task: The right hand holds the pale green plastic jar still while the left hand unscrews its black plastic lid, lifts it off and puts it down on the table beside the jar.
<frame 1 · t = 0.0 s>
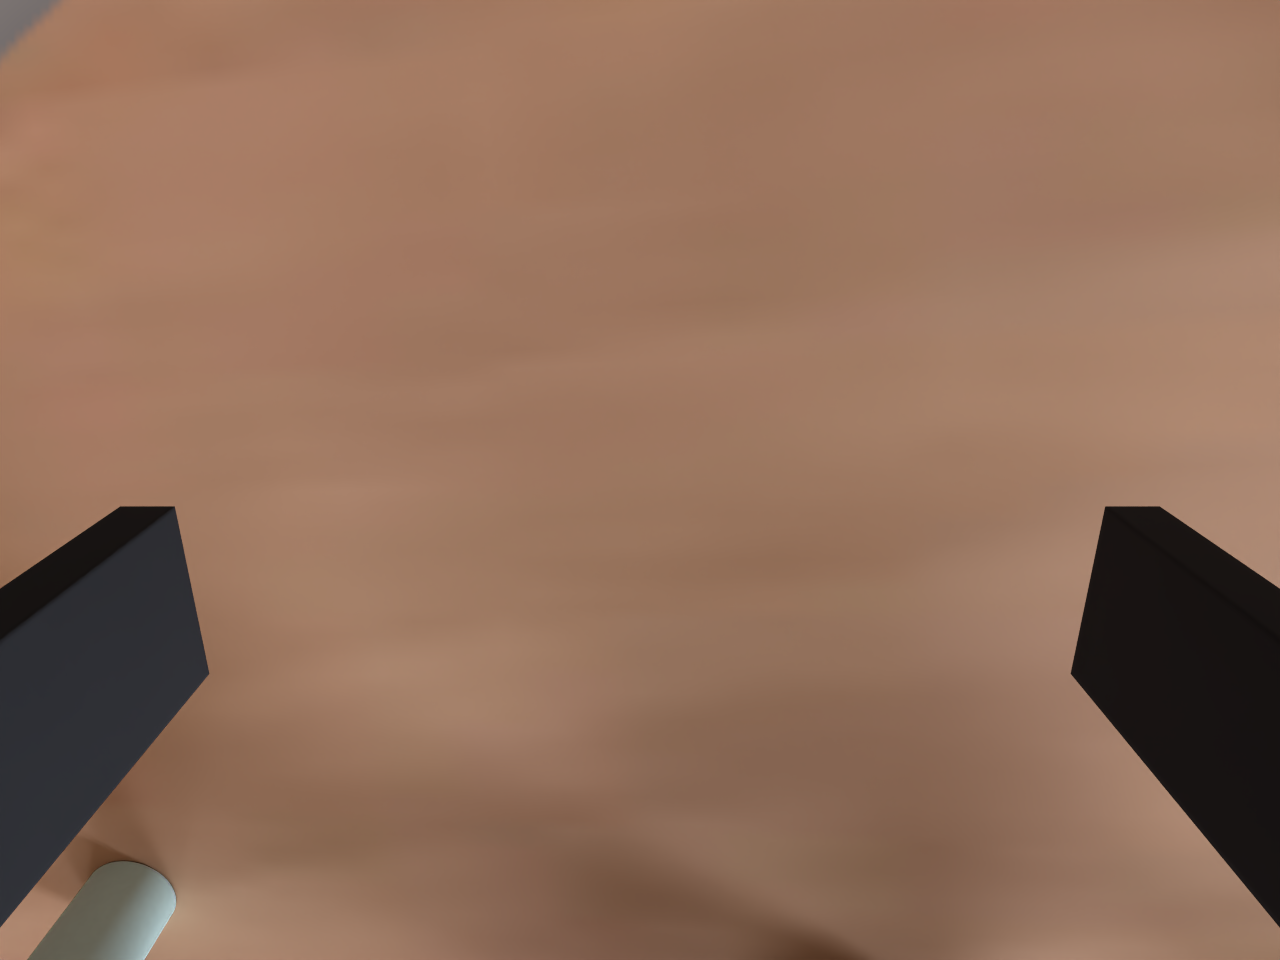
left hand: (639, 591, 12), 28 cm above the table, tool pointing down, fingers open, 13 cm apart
jar: (132, 894, 51), on the table
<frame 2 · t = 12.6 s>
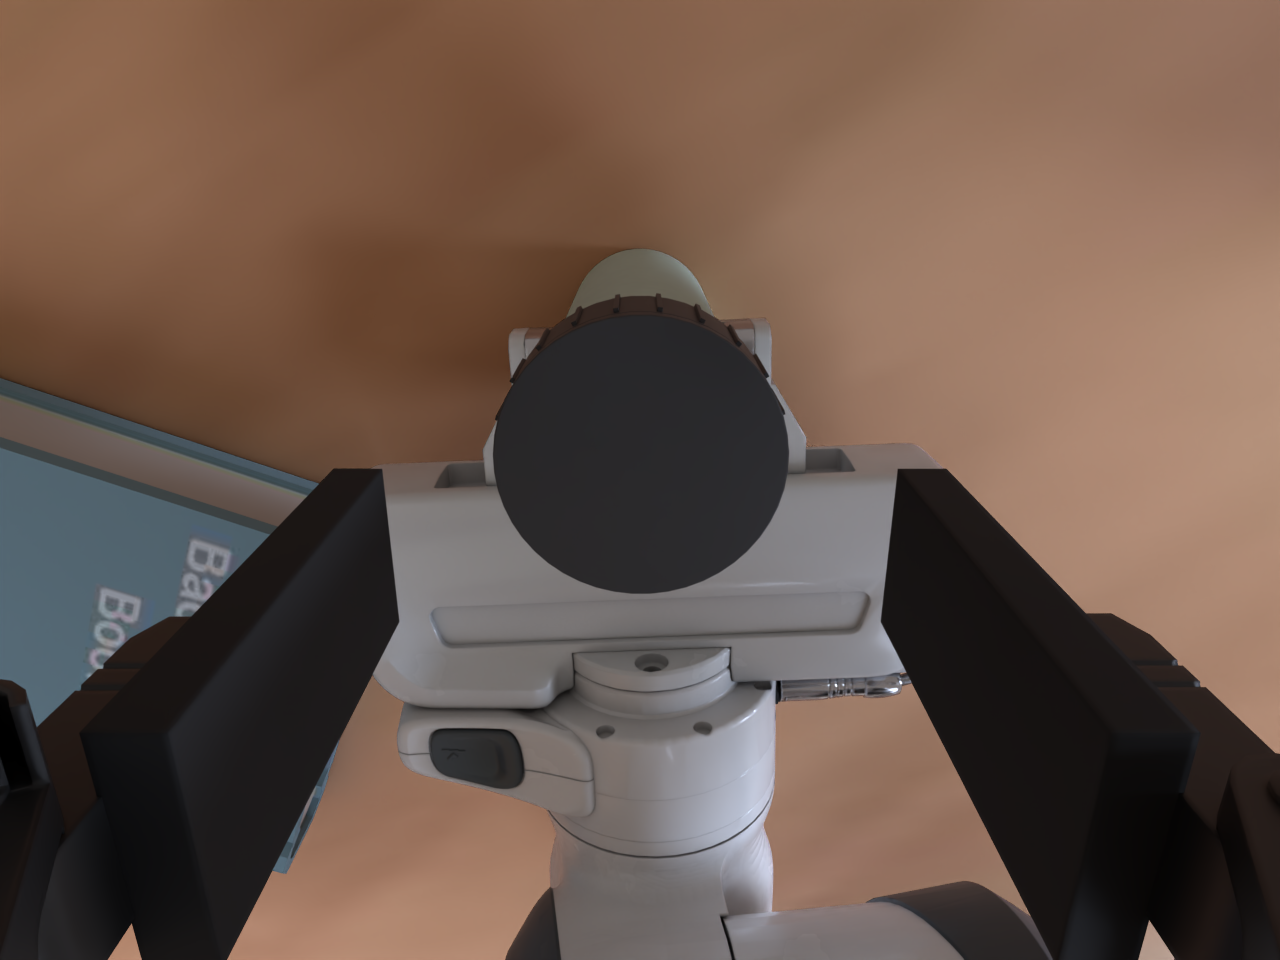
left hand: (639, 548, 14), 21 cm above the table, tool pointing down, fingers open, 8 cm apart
jar: (640, 317, 33), on the table, touching right hand
book: (104, 588, 37), on the table
lid: (640, 457, 18), point 16 cm above the table, screwed on, not yet turned
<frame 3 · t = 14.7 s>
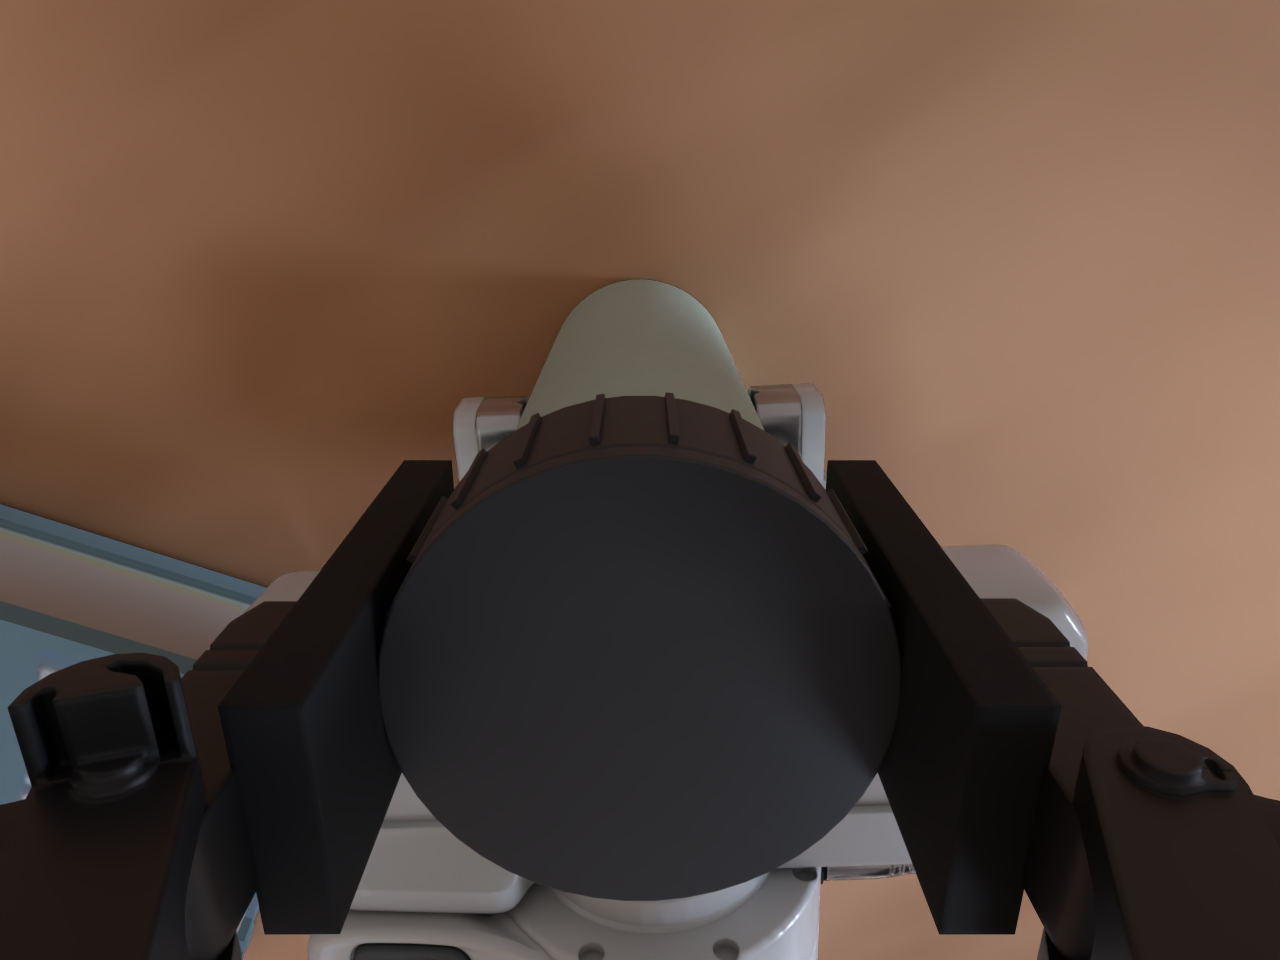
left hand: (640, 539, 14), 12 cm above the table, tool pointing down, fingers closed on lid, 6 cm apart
jar: (639, 367, 25), on the table, touching right hand
lid: (639, 685, 10), point 16 cm above the table, screwed on, not yet turned, touching left hand
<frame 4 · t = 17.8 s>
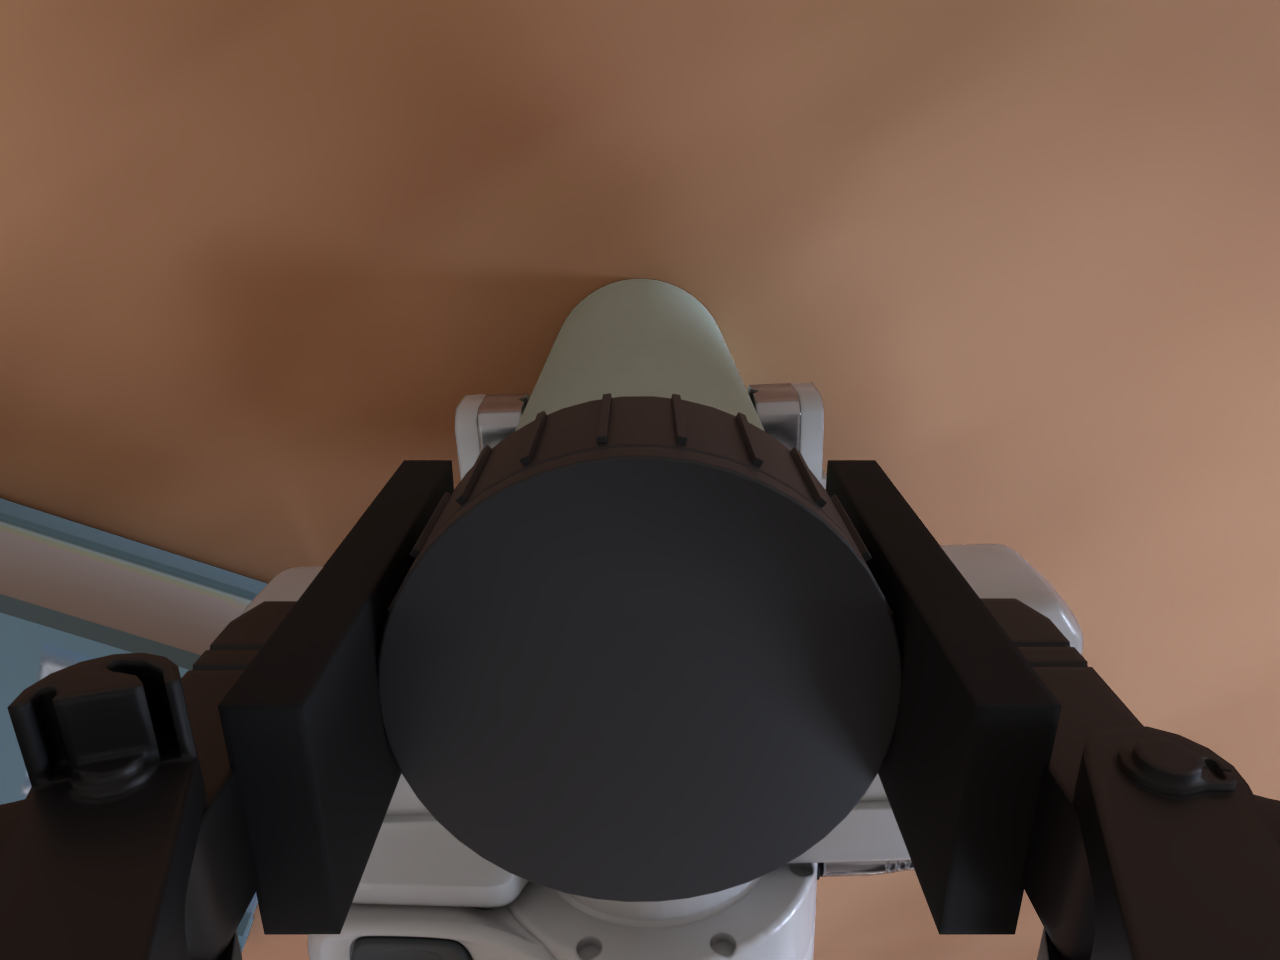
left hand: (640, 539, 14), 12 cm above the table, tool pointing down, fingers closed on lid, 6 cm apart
jar: (639, 366, 26), on the table, touching right hand
lid: (639, 686, 10), point 16 cm above the table, turned 113° so far, risen 0.2 cm, still on its thread, touching left hand
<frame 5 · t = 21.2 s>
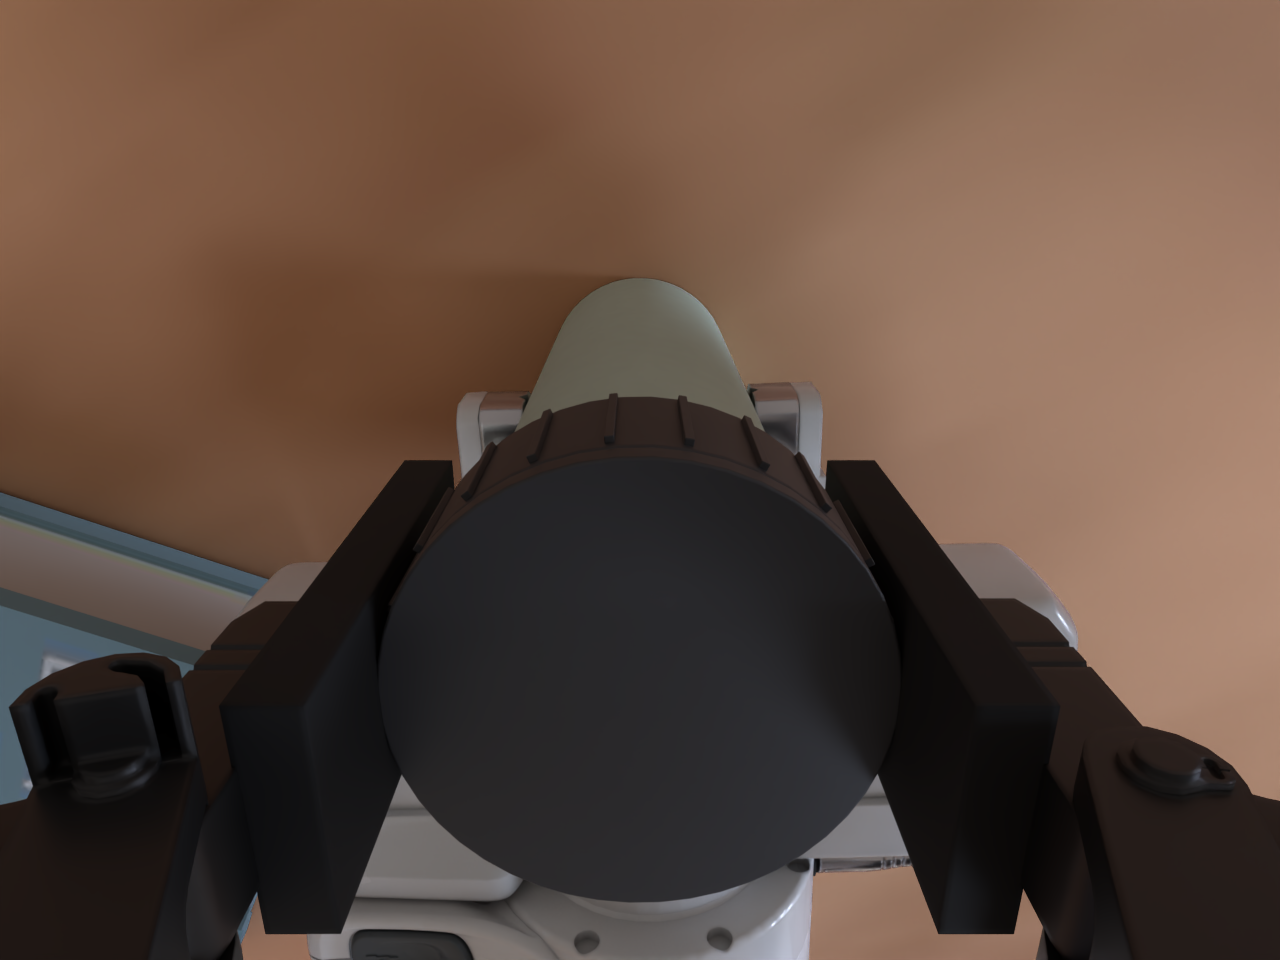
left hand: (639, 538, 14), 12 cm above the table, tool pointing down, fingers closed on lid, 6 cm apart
jar: (639, 365, 26), on the table, touching right hand
lid: (639, 687, 10), point 17 cm above the table, turned 227° so far, risen 0.3 cm, still on its thread, touching left hand
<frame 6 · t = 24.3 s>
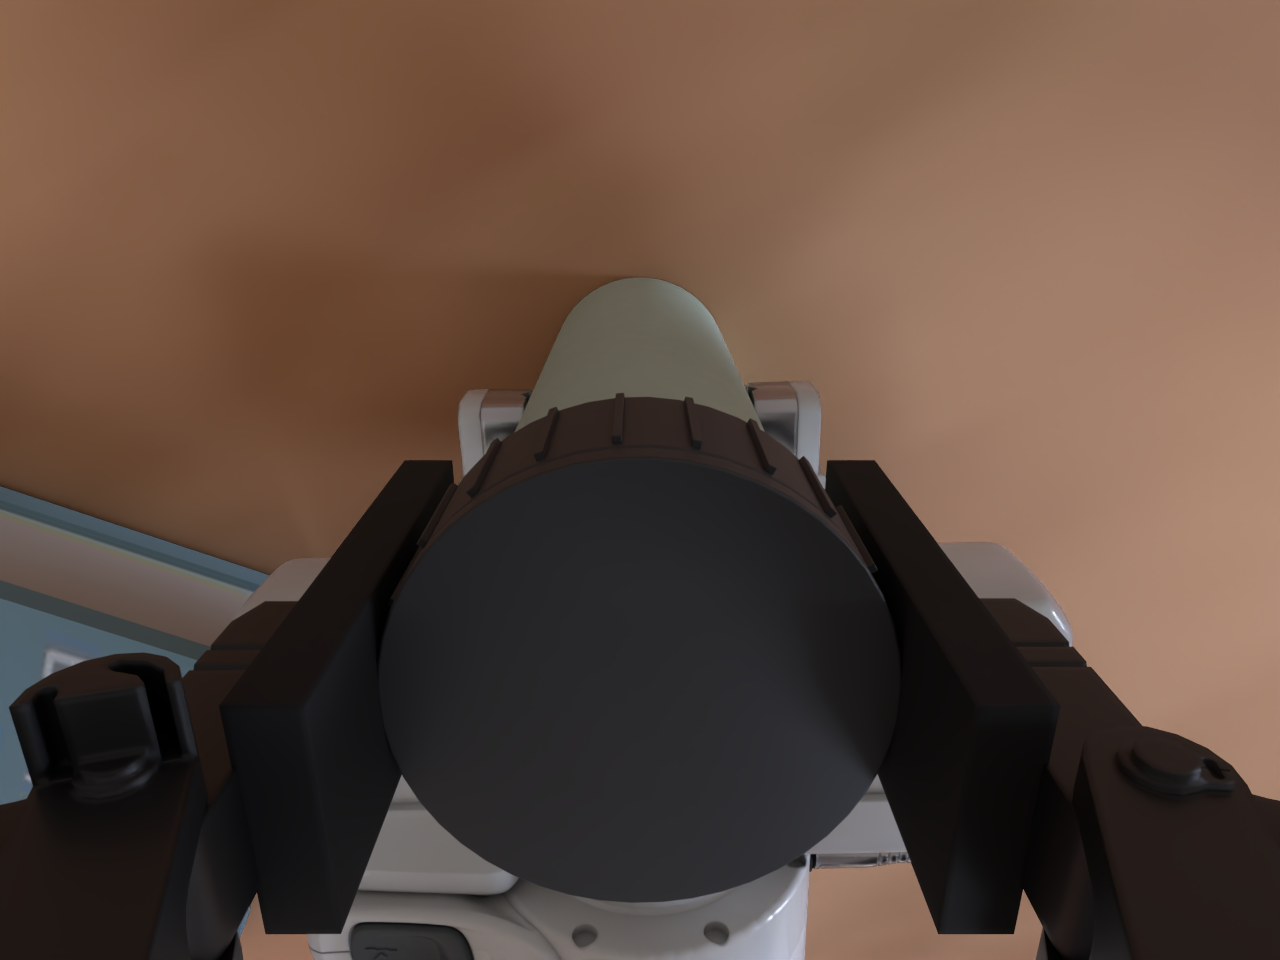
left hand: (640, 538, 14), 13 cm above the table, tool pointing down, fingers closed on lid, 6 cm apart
jar: (639, 364, 26), on the table, touching right hand
lid: (639, 687, 10), point 17 cm above the table, turned 340° so far, risen 0.5 cm, still on its thread, touching left hand
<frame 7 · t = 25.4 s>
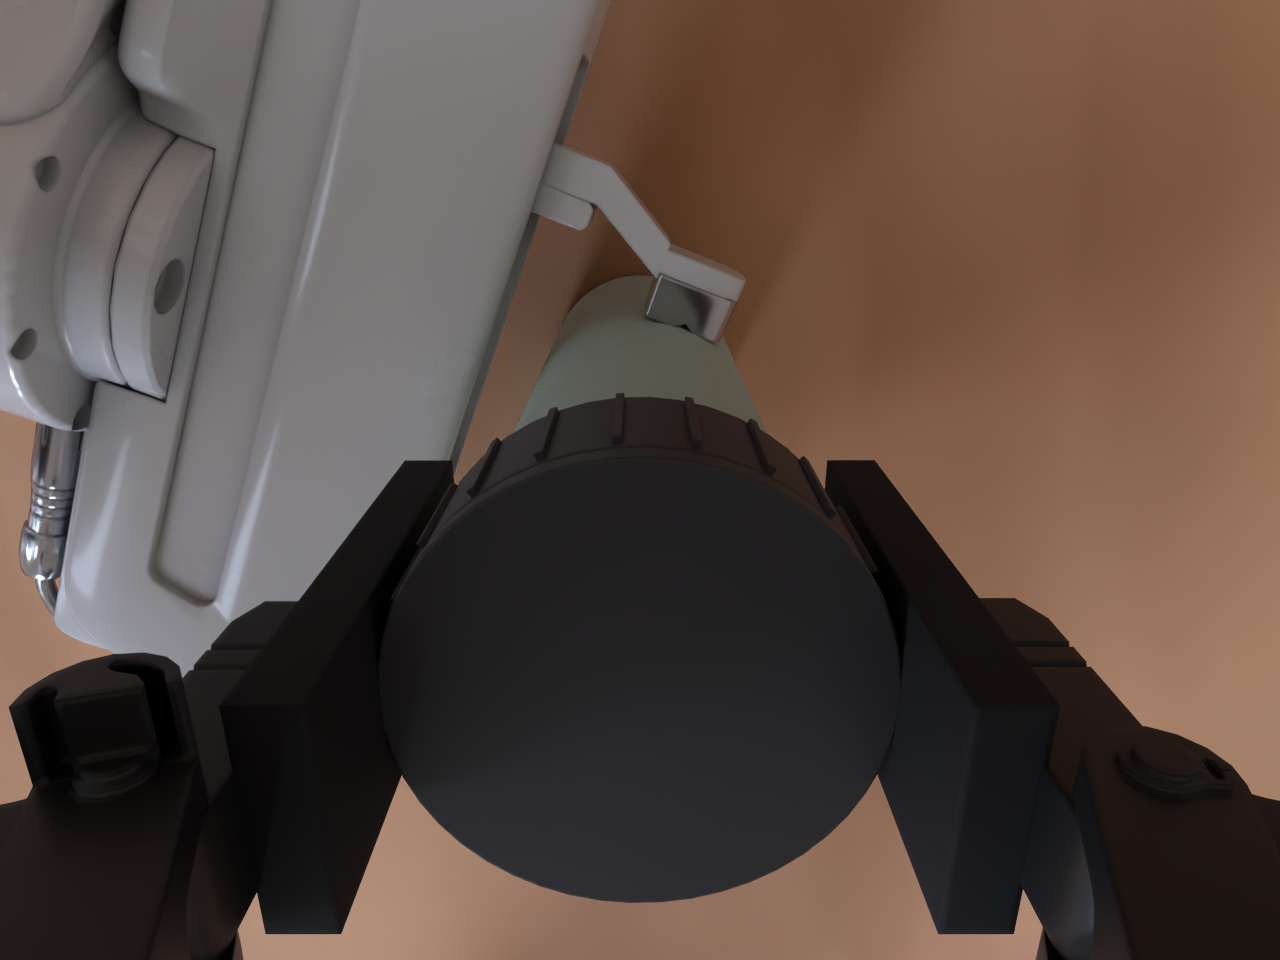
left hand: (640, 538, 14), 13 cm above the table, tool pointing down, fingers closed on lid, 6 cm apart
right hand: (677, 436, 20), fingers closed on jar, 5 cm apart
jar: (640, 361, 26), on the table, touching right hand
lid: (639, 687, 10), point 17 cm above the table, off its thread, touching left hand
when the left hand's fingers open (0 cm above the table, at t = 30.6 s): lid drops 2 cm, point 2 cm above the table.
when the right hand's fingers open (6 cm above the table, at t = 31.7 s): jar stays where it is, on the table.
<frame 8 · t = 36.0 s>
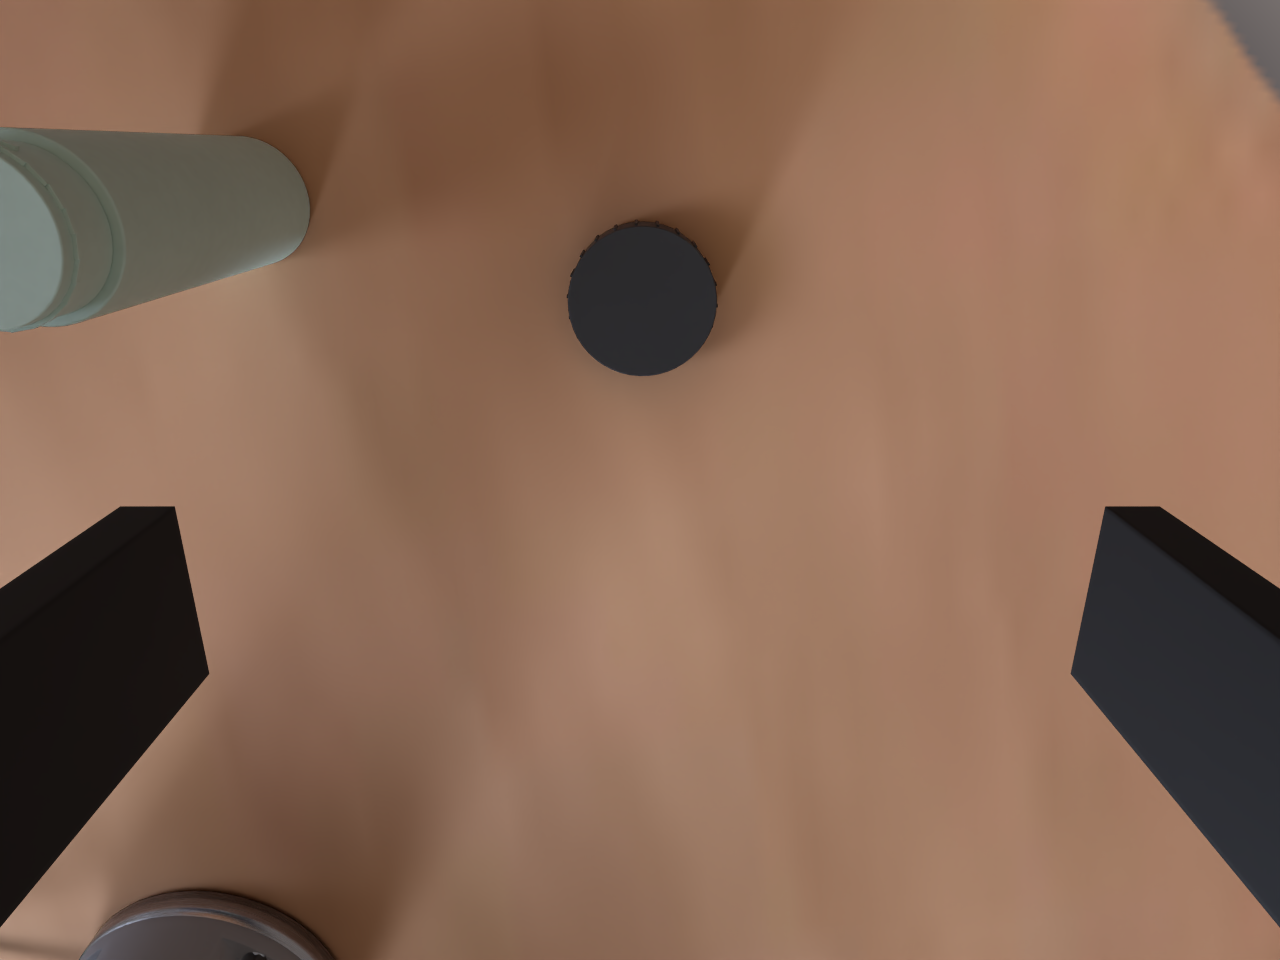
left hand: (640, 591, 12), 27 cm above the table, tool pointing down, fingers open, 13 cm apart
jar: (248, 202, 36), on the table
lid: (642, 302, 35), point 2 cm above the table, off its thread
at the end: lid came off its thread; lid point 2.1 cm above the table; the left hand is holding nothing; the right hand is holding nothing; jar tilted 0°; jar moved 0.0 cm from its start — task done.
